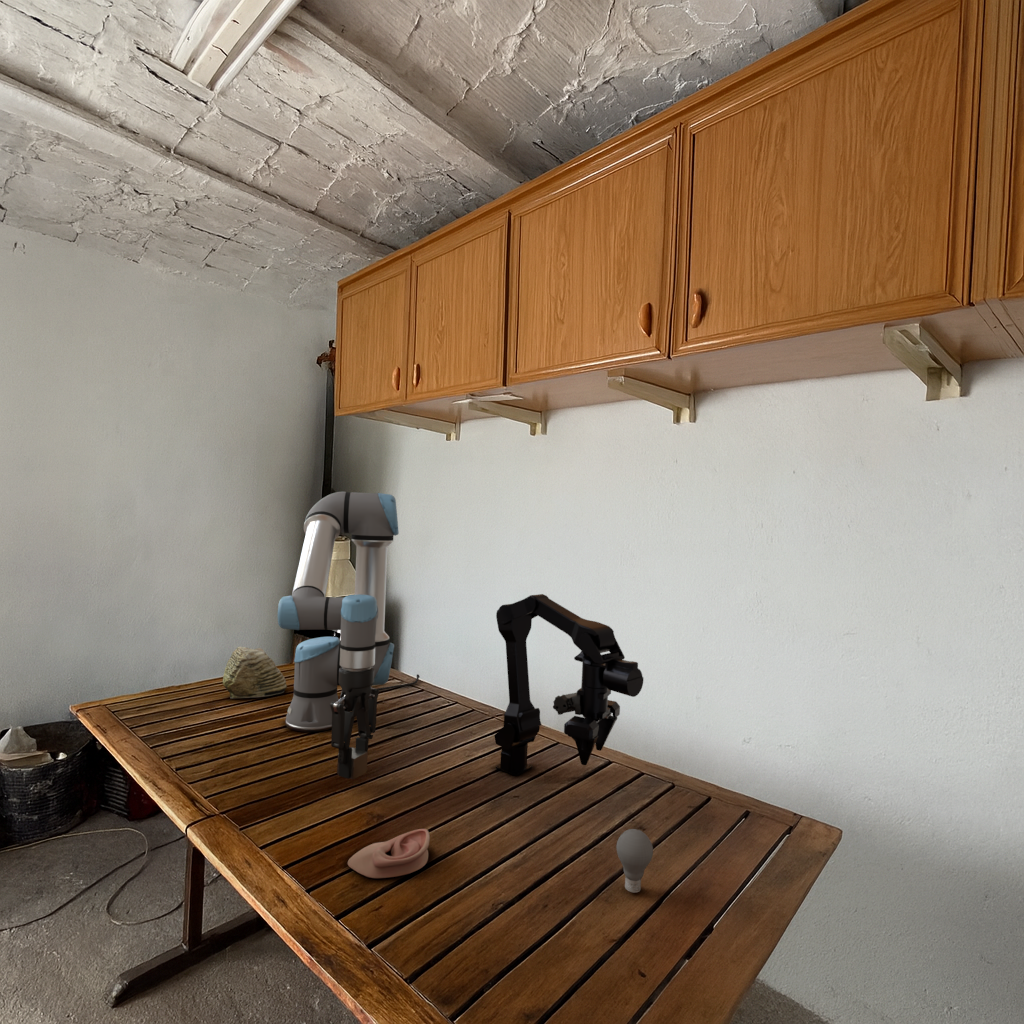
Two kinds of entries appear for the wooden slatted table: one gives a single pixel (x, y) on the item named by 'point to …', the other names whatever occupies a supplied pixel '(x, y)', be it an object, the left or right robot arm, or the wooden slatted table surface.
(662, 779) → the wooden slatted table surface
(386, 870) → the anatomical model
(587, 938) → the wooden slatted table surface
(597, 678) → the right robot arm
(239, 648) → the fossil
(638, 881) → the light bulb
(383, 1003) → the wooden slatted table surface
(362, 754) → the block
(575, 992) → the wooden slatted table surface
